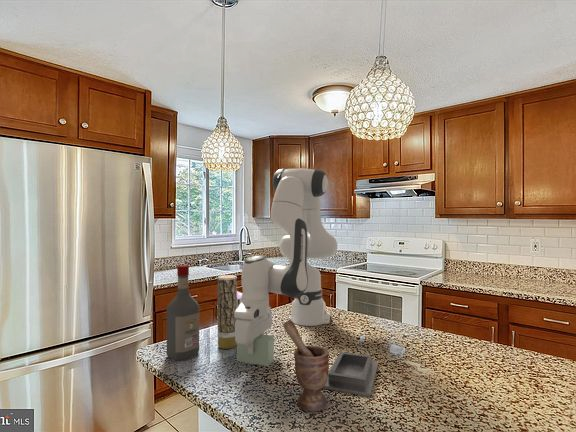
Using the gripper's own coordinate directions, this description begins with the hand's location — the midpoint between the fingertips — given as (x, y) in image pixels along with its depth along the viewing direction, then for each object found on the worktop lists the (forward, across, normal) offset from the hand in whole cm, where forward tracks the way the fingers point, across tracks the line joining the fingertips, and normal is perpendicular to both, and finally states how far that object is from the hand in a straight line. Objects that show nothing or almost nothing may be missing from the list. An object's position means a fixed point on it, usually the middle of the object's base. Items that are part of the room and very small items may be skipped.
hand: (255, 349), depth 110 cm
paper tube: (+4, -8, -15) cm, 17 cm away
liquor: (+4, +4, -25) cm, 26 cm away
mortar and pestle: (+4, +19, +23) cm, 30 cm away
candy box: (+4, -19, -17) cm, 26 cm away
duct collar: (+4, 0, +31) cm, 31 cm away
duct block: (+4, 0, 0) cm, 4 cm away
